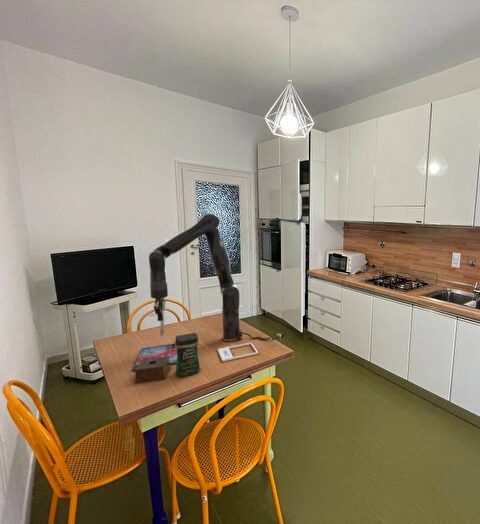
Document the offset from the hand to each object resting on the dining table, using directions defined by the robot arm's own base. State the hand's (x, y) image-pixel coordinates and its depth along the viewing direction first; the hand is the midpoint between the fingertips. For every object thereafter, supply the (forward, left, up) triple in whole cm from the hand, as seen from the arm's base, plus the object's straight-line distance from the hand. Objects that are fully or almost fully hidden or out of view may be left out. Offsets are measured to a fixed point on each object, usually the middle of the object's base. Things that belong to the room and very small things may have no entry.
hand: (160, 319), depth 155 cm
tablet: (0, +6, -18) cm, 19 cm away
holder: (-2, +26, -18) cm, 31 cm away
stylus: (0, 0, -9) cm, 9 cm away
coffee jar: (-17, +28, -18) cm, 37 cm away
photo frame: (-38, +13, -18) cm, 44 cm away
